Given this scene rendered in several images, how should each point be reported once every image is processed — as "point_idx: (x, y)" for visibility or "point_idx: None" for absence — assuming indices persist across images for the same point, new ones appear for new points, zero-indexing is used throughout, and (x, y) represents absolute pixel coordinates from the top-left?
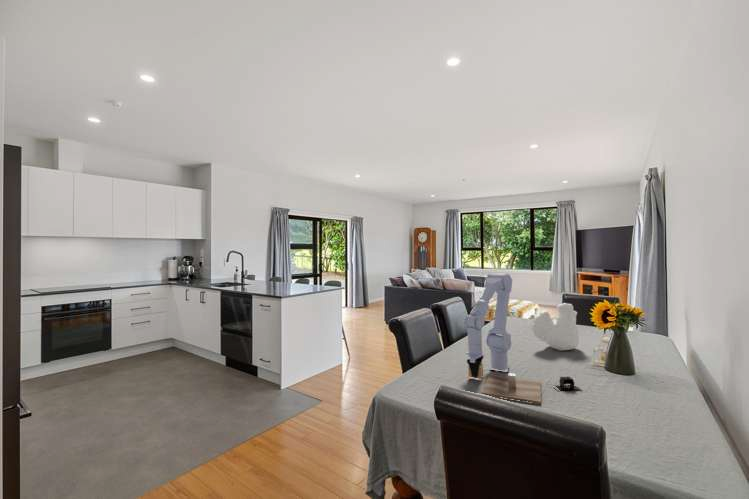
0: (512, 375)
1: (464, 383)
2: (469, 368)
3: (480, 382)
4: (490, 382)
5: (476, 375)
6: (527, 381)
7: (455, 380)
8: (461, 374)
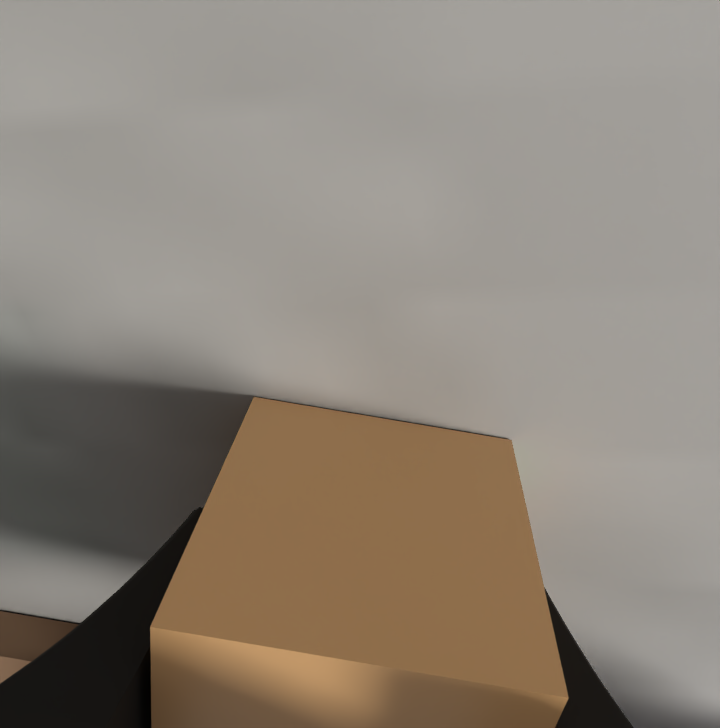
0: None
1: (10, 316)
2: (172, 598)
3: None
4: None
5: None
6: None
7: (92, 105)
8: (547, 237)
